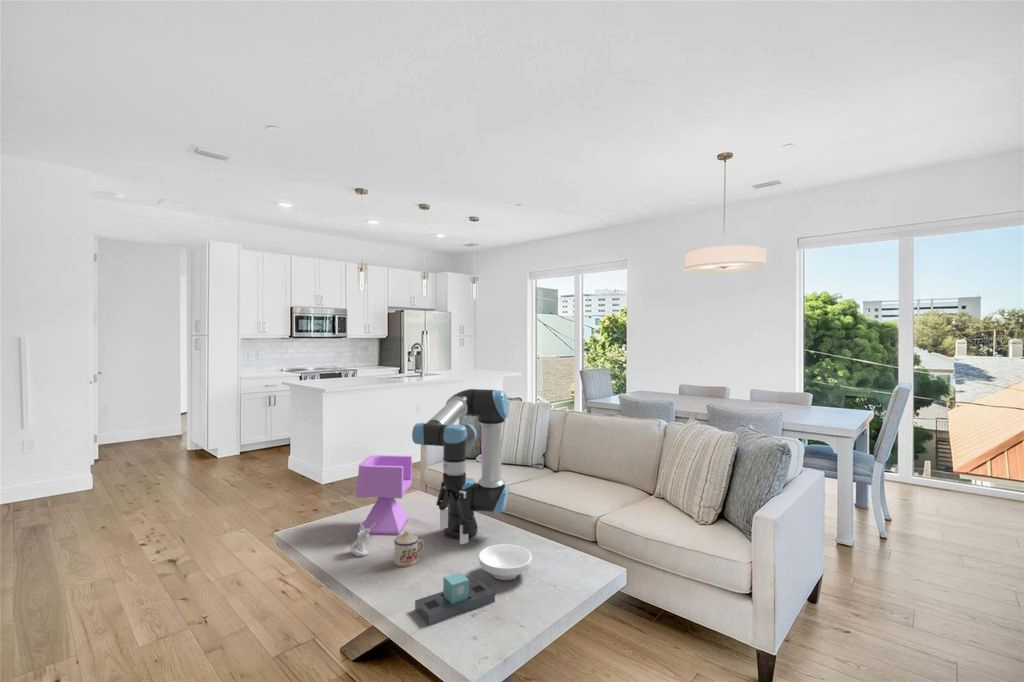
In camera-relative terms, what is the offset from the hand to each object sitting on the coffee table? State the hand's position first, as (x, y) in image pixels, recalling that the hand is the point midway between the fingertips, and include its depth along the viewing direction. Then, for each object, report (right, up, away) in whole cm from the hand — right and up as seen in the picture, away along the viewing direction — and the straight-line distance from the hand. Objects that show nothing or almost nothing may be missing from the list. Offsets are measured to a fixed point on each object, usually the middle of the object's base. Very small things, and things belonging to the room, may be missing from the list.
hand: (453, 535), depth 162 cm
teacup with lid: (-20, -21, +26) cm, 39 cm away
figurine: (-40, -20, +33) cm, 56 cm away
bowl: (+17, -22, +17) cm, 32 cm away
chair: (-39, -20, +59) cm, 73 cm away
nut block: (+1, -21, -4) cm, 22 cm away
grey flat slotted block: (+1, -21, -4) cm, 22 cm away
